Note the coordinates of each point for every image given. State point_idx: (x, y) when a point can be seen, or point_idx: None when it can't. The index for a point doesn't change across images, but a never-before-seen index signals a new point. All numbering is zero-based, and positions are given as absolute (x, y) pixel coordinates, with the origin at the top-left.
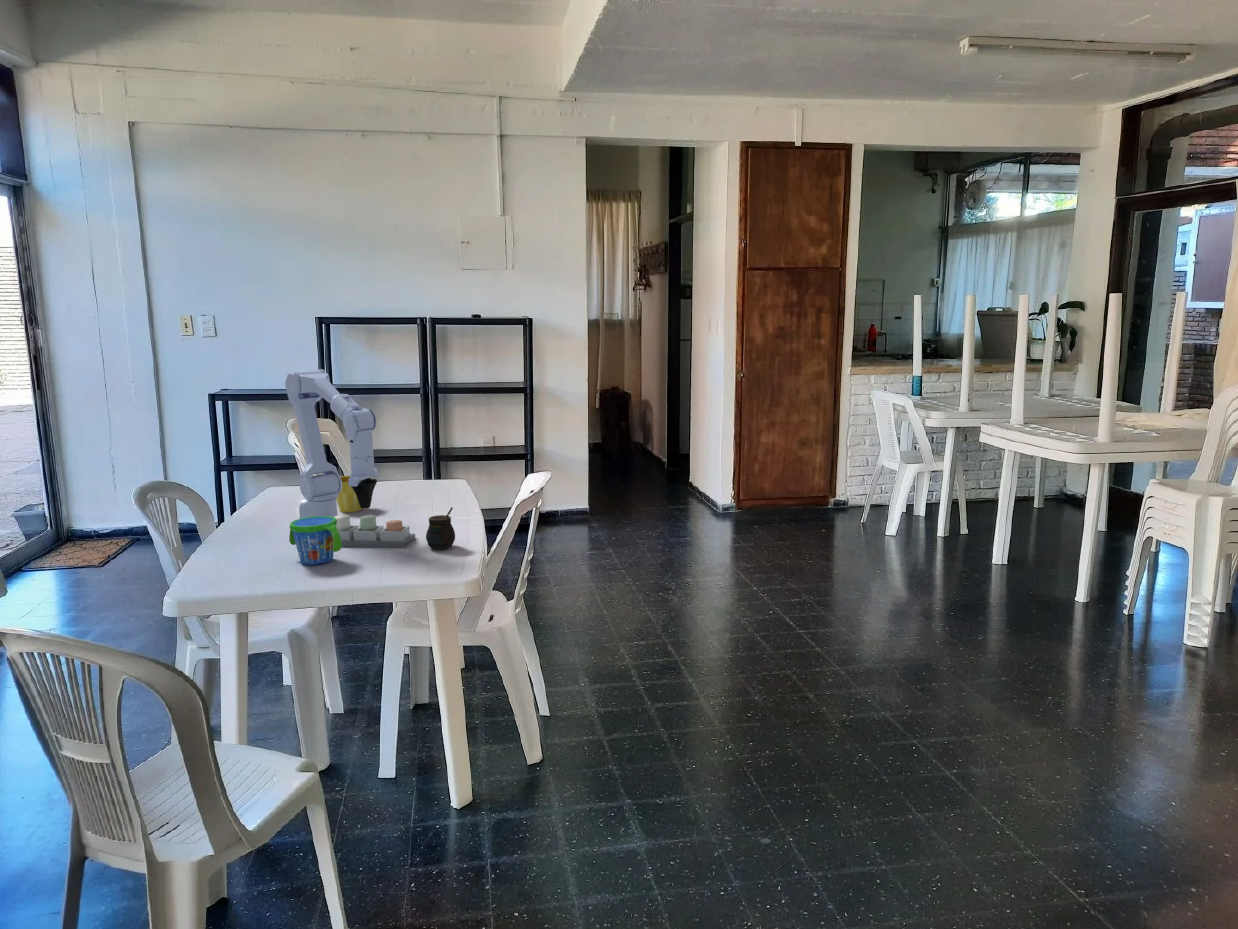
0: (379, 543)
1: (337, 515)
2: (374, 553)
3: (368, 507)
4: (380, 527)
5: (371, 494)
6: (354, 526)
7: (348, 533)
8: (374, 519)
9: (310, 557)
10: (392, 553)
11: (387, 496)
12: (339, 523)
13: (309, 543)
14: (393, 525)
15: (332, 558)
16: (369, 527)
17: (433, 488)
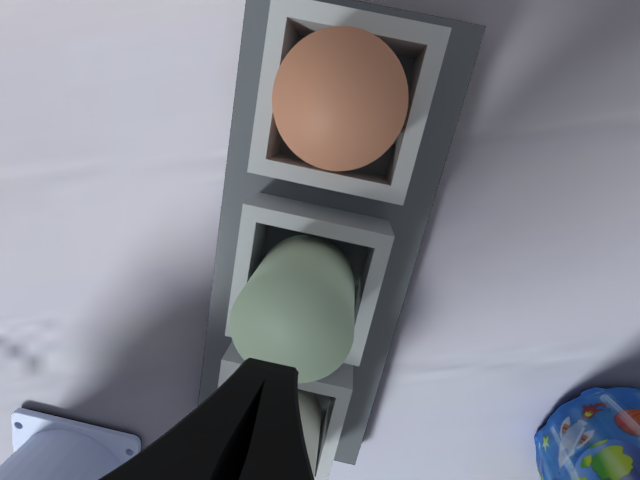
0: (435, 192)
1: (7, 476)
2: (552, 199)
3: (293, 371)
4: (287, 217)
5: (202, 451)
6: None
7: (351, 383)
8: (319, 271)
9: None
10: (590, 89)
11: None
12: (314, 470)
13: None
14: (407, 99)
15: (623, 387)
16: (352, 284)
17: None
